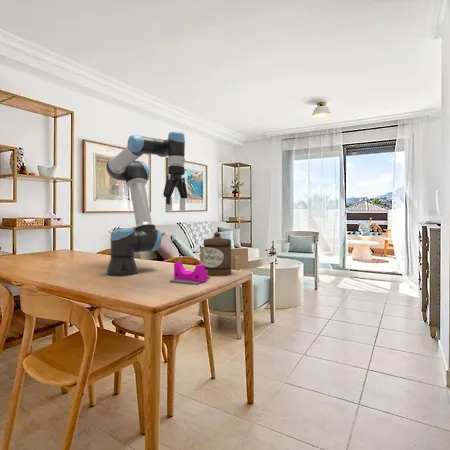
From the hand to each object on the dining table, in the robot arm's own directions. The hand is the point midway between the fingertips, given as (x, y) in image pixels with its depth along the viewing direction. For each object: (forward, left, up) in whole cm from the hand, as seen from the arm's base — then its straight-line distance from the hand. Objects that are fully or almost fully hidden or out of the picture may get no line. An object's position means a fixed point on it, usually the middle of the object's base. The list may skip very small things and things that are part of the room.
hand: (176, 211), depth 153 cm
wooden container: (+12, +25, -33) cm, 43 cm away
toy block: (+6, +3, -32) cm, 33 cm away
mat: (+6, +4, -33) cm, 33 cm away
